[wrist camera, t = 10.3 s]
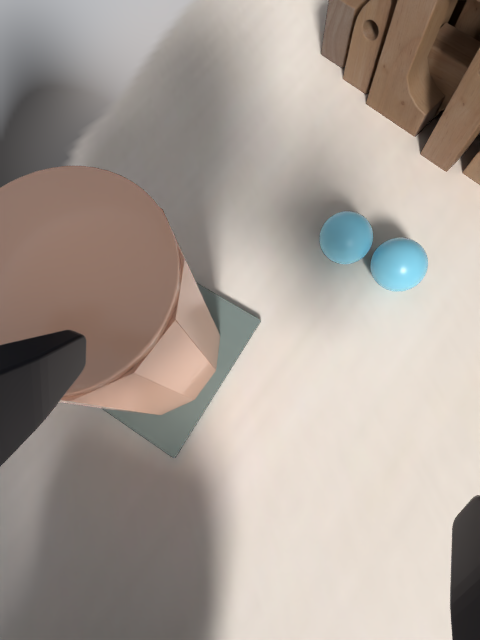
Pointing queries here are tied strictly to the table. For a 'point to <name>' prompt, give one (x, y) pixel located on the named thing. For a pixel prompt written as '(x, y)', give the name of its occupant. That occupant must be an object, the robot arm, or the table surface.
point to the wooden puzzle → (414, 67)
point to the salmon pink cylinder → (105, 288)
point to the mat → (181, 421)
